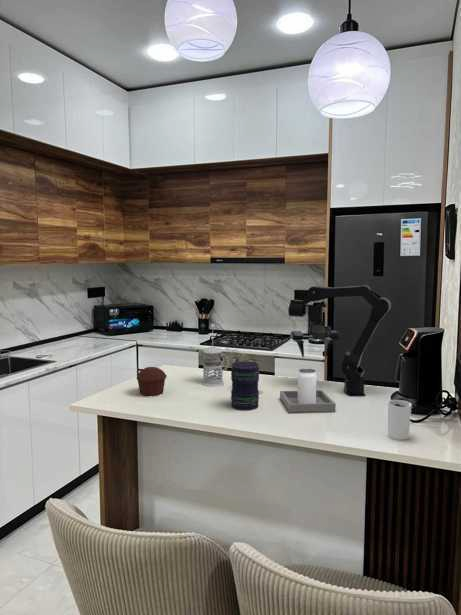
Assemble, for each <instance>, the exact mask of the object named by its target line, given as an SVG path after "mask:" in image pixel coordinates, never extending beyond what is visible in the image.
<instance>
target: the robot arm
mask: <svg viewBox="0 0 461 615" xmlns="http://www.w3.org/2000/svg"><path fill="white" fill-rule="evenodd" d="M344 297H346V298H347V297H361V298H364V300H365V301H366V302H367V303H368V304H369V305H370V306H372V307H371V310H370V315H369V317H368V320H367V322H366V324H365V326H364V328H363V329H362V332H361V334H360V336H359V337H358V340H357V341H356V343H355V345H354V348H353V350H352V351H351V352H350V351H349V350H348V351H347V352H346V353H345V354H344V357H343V359H342V361H340V364H341V365H340V370H341V372H342V373H343V374H344V375H345V380H344V382H343V383H344V384H343V385H344V386H343V391H344V393H345V394H346V395H347V396H349V397H359V396H366V393H365V378H364V377H363V376H364V374H365V370H364V368H362V366H360V364H361V361H362V357H363V353H364V352H365V350H366V348H367V345H368V344H369V342H370V340H371V338H372V337H373V334H374V333H375V330H376V329H377V327H378V325H379V323H380V322H381V321H382V319H384V317H385V316H386V314H387V313H388V312H389V310H391V307H392V303H391V301H390V300H389V299H388V298H387V297H383V296H381V295H380V294H378V293H377V292H376V291H375V290H373V289H371V287H370V286H369V285H366V284H363V285H355V286H354V285H353V286H337V287H331V286H324V285H323V286H322V285H315V286H314V285H313V286H311V287H309V288H308V290H307V291H306V296H305V297H304V298H303V299H302V300H301V299H300V300H299V299H290V303H289V307H288V316H289V317H292V318H293V317H294V318H295V317H296V318H304V317H306V316H307V319H306V320H307V321H306V322H307V329H306V332H302V331H300V330H291V332H290V335H289V338H290V339H291V340H292V341H294V342H295V343H296V344H297V346H298V348H299V351H300V354H301V357H302V358H305V350H304V342H305V340H304V338H305V339H309V338H312V339H313V340H315V341H317V340H324V357H325V358H327V357H328V354H329V350H330V349H331V346H332V345H333V344H334V343H336V342H337V341H338V340H340V338H341V335H340V332H339V331H336V330H332V327H331V326H327V325H326V326H325V325H324V321H323V315H324V314H323V313H324V312H323V311H324V310H323V309H324V308H327V307H328V306H329V304H328V303H326V301H325V300H326V299H330V298H344ZM318 301H320V302H318ZM312 302H313V304H312ZM309 303H311V304H309Z"/></svg>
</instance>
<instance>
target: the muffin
mask: <svg viewBox="0 0 461 615" xmlns="http://www.w3.org/2000/svg"><path fill="white" fill-rule="evenodd" d="M167 376H168V375H166V372H165V371H164V370H163V369H161V368H159V367H156V366H147V367H144V368H143V369H141V370H140V371H139V372H138V374H137V376H136V380H137V383H138V390H139V395H140V394H142V395H141V396H143V397H148V396H152V397H159V396H161V395H160V394H162V395H163V394H164V389H165V383H166V379H167ZM158 395H159V396H158Z"/></svg>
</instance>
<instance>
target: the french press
mask: <svg viewBox="0 0 461 615" xmlns="http://www.w3.org/2000/svg"><path fill="white" fill-rule="evenodd" d="M210 328H212V329H211V330H212V332H211V333H212V345H211V347H207V348H204V349H203V351H202V352H203V354H206V355H211V356H212V358H206V359H203V362H204V363H203V371H202V372H203V381H201V383H200V385H202V386H204V387H209V386H210V387H212V388H213V387H215V386H216V387H221V386H223V385H225V381H223V372H225V371H227V369H228V368H229V364H230V362H229V361H230V360H229V358H228V356H227V355H226V354H225V353H223V350H222V348H220V347H216V346H214V328H215V324H214V323H211V324H210ZM218 354H220V357H221V358H223V356H225V358H226V362H227V363H226V366H225V367H224V368H223V364H222V359H220V358H214V355H218ZM216 387H215V388H216Z"/></svg>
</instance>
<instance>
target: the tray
mask: <svg viewBox="0 0 461 615" xmlns="http://www.w3.org/2000/svg"><path fill="white" fill-rule="evenodd" d="M279 399H280V402H282V404H283V406H284V408H285V409H286V411H287V413H288V414H311V413H312V414H319V413H322V414H323V413H336V410H337V409H336V404H337V403H336V402H335V401H334V400H332V398H331V397H330V396H329V395H328V394H327V393H326V392H325V391H324V390H323V389H316V403H304V404H299V403H298V390H279Z"/></svg>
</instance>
